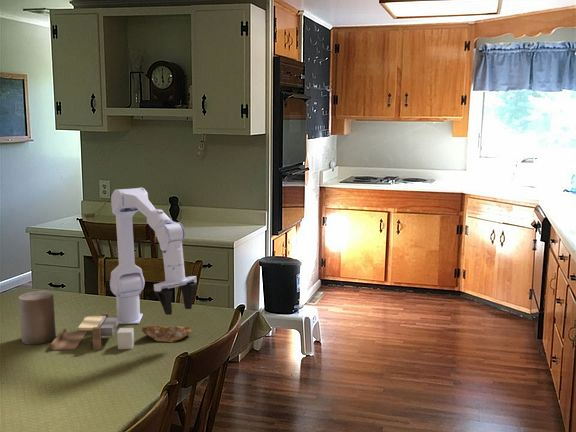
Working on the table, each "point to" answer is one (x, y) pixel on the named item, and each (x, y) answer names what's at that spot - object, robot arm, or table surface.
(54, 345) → the frame
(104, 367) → the table surface
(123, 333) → the stone block
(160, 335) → the decorative stone
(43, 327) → the pillar candle
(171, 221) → the robot arm
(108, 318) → the trapdoor
